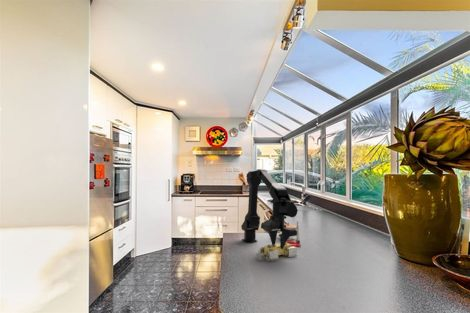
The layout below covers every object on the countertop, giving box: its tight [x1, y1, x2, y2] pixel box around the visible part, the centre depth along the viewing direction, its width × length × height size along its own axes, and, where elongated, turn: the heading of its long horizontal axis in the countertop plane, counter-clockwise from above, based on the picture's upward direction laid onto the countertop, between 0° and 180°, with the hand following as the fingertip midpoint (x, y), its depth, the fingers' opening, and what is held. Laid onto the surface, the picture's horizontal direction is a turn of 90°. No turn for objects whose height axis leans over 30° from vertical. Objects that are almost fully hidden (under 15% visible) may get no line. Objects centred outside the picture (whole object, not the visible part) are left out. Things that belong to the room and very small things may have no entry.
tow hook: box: [287, 221, 302, 247], centre depth 131 cm, size 8×13×9 cm
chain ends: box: [256, 246, 298, 263], centre depth 111 cm, size 8×23×4 cm, turn 124°
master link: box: [263, 242, 292, 257], centre depth 111 cm, size 4×14×5 cm, turn 124°
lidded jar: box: [279, 222, 297, 241], centre depth 144 cm, size 11×11×9 cm
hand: (277, 247), depth 111 cm, fingers open, 5 cm apart
